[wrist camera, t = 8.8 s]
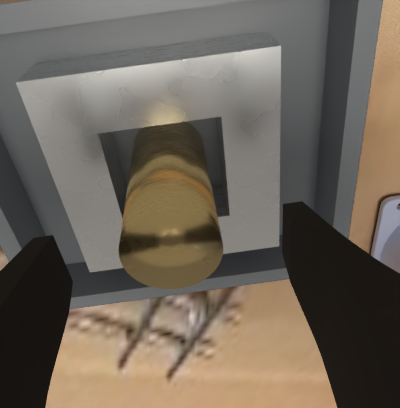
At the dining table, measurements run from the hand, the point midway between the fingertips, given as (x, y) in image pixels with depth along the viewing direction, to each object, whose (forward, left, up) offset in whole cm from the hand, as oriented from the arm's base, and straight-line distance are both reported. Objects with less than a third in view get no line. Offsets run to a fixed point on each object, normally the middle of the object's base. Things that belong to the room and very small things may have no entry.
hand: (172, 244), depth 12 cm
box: (0, 0, -8) cm, 8 cm away
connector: (0, 0, -7) cm, 7 cm away
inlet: (0, 0, -8) cm, 8 cm away
